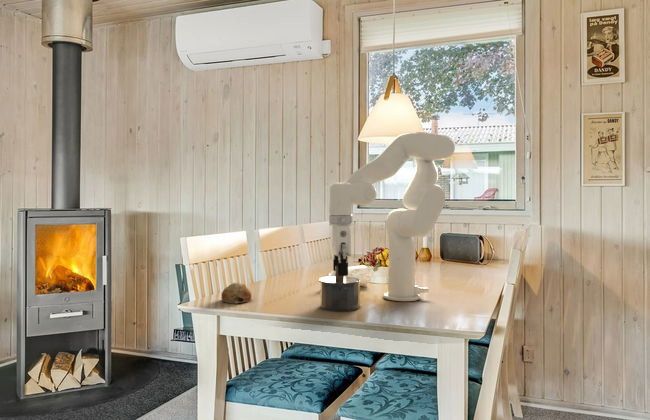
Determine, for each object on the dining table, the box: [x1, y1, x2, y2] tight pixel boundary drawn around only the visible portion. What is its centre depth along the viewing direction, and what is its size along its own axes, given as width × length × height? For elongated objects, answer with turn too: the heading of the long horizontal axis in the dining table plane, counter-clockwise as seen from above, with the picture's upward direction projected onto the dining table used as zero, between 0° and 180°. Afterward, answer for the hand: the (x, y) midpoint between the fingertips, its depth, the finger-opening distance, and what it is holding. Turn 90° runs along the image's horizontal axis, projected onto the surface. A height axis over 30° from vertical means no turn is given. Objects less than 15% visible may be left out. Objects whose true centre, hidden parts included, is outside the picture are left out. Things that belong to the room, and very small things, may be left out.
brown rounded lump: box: [221, 282, 252, 305], centre depth 178 cm, size 10×10×8 cm
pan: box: [320, 282, 361, 312], centre depth 170 cm, size 12×18×8 cm
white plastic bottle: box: [324, 265, 372, 287], centre depth 205 cm, size 8×19×8 cm, turn 125°
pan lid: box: [318, 265, 360, 285], centre depth 170 cm, size 13×13×6 cm
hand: (340, 273), depth 170 cm, fingers open, 9 cm apart
